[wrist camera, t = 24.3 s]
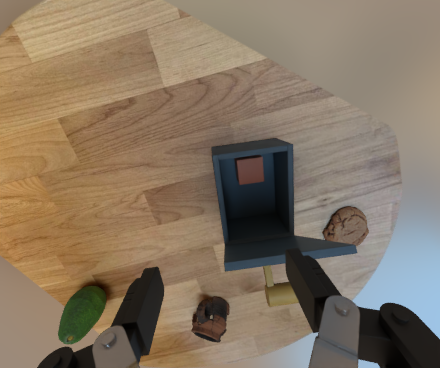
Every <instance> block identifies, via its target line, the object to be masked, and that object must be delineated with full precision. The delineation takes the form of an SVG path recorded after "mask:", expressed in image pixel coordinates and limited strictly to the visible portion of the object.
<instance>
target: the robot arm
mask: <svg viewBox="0 0 440 368" xmlns="http://www.w3.org/2000/svg"><path fill="white" fill-rule="evenodd" d="M285 261H286V274H287V277H288V280H289V282H290V284H291V286H292V289H293V291H294V293H295V295H296V297H297V299H298V301H299V303H300V306H301V308H302V310H303V312H304V314H305V316H306V318H307V320H308V323H309V325H310V327H311V329H312V331H313V333H316V332H319V333H318V336H317V337H316V338H315V342H314V346H313V350H312V355H311V359H310V363H309V368H358V359H360V360H365V361H369V362H374V363H378V365H379V366H380V368H440V339H439V338H438V337H437V336H436V335H435V334H434V333H433V332H432V331H431V330H430V329H429V328H428V327H427V326H426V325H425V323H424V322H422V320H421V319H419V317H418V316H417V315H416V314H414V312H412V311H411V310H409V309H408V308H406V307H404V306H402V305H399V304H395V303H385V304H383V305H382V306H381V307H380V310H373V309H367V308H361V307H358V306H356V305H355V303H353V302H352V301H351V300H350V299H348V298H346V297H343V296H342V295H341V294H340V293H339V291H338V290H337V288H336V287H335V286H334V284H333V283H332V281H331V280H330V279H329V277H328V276H327V275H326V274H325V272H324V270H323V269H322V268H321V266H320V265H319V264H318V262H317V261H316V260H315V259H314V258H312V257H311V256H309V255H306V256H303V254H302V253H301V251H300V250H299V248H292V249H286V250H285ZM163 297H164V285H163V282H162V278H161V275H160V271H159V268H158V267H152V268H145V269H144V271H143V273H142V276H141V278H137V279H136V280H135V281H134V282H133V283H132V284H131V285H130V287H129V289H128V291H127V293H126V295H125V297H124V299H123V302H122V304H121V306H120V308H119V310H118V312H117V314H116V317H115V319H114V321H113V323H112V325H111V327H110V328H108V329H106V330H105V331H103V332H102V333H101V334H100V335H99V336H98V338H97V339H96V340H95V342H94V344H92V345H90V346H88V347H86V348H83V349H81V350H79V351H76V352H73V351H72V349H71V348H70V347H62V348H59V349H57V350H55V351H54V352H52V353H51V354H49V355H48V356H47V357H46V358H45V359H44V360H43V361H42V362H41V363H40V364H39V366H38V367H37V368H140V367H139V361H140V358H141V356H144V355H149V352H150V348H151V344H152V340H153V336H154V332H155V328H156V325H157V321H158V317H159V313H160V309H161V305H162V301H163Z"/></svg>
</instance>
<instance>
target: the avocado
mask: <svg viewBox="0 0 440 368" xmlns="http://www.w3.org/2000/svg"><path fill="white" fill-rule="evenodd" d="M105 305H106V294H105V292H104V291H103V290H102V289H101V288H99V287H97V286H87V287H83V288H82V289H80V290H79V291H77V292H76V293H75V294H74V295H73V296H72V297H71V298H70V299H69V301H68V302H67V304H66V305H65V308H64V311H63V314H62V317H61V321H60V326H59V332H58V336H59V339H60V341H61V342H63V343H64V344H73V343H76V342H78V341H80V340H81V339H82V338H83V337H84V336H85V335H86V334H87V333H88V332H89V331H90V329H91V328H92V327H93V326H94V325H95V324H96V322H97V321H98V320H99V318H100V317H101V315H102V313H103V311H104V309H105Z"/></svg>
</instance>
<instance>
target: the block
mask: <svg viewBox="0 0 440 368" xmlns="http://www.w3.org/2000/svg"><path fill="white" fill-rule="evenodd" d="M234 161H235V170H236V178H237V180H238V183H239V185H243V184H250V183H257V182H264V170H263V157H262V156H261V155H253V156H246V157H239V158H234Z"/></svg>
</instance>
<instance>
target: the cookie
mask: <svg viewBox="0 0 440 368" xmlns="http://www.w3.org/2000/svg"><path fill="white" fill-rule="evenodd" d="M368 233H369V230H368V228H367V220H366V217H365V215H364V214H363V213H362V212H361V211H360V210H358V209H357V208H355V207H354V208H352V207H345V208H342V209H340V210H339V211H338V212H337V213H336V214H335V216H333V217H332V220H331V222H330V225H329V227H328V229H326V230H325V232H324V235H325V239H326V240H327V241H334V242H340V243H347V244H353V245H355V246H358V245H359V244H361V243H362V242H363V240H364V239H365V238H366V236H367V234H368Z"/></svg>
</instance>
